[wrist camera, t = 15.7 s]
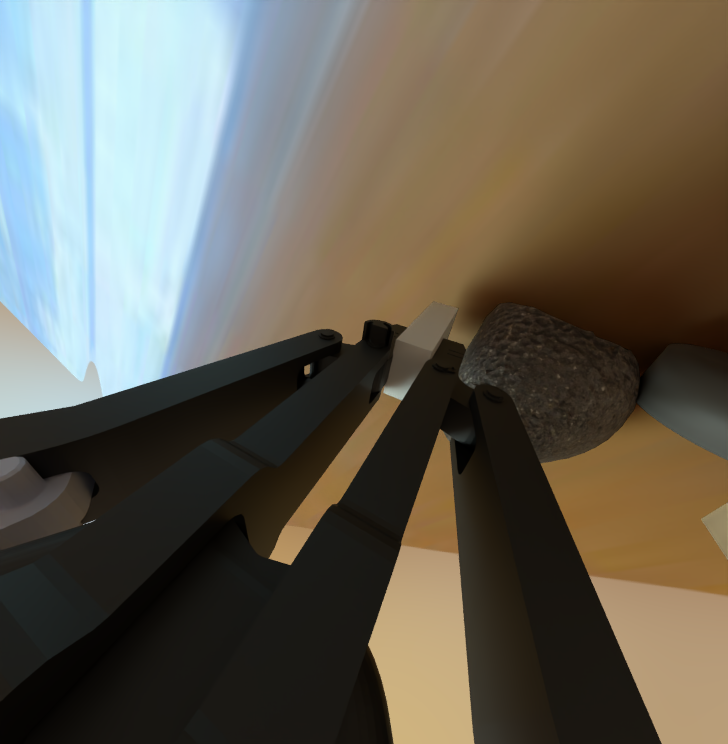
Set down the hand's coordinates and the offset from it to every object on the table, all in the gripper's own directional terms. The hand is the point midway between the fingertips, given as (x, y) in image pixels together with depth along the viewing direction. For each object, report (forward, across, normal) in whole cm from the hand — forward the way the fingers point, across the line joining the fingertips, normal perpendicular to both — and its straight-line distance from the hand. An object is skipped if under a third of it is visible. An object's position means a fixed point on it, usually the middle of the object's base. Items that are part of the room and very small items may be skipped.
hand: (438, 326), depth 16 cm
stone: (+2, +6, -2) cm, 7 cm away
